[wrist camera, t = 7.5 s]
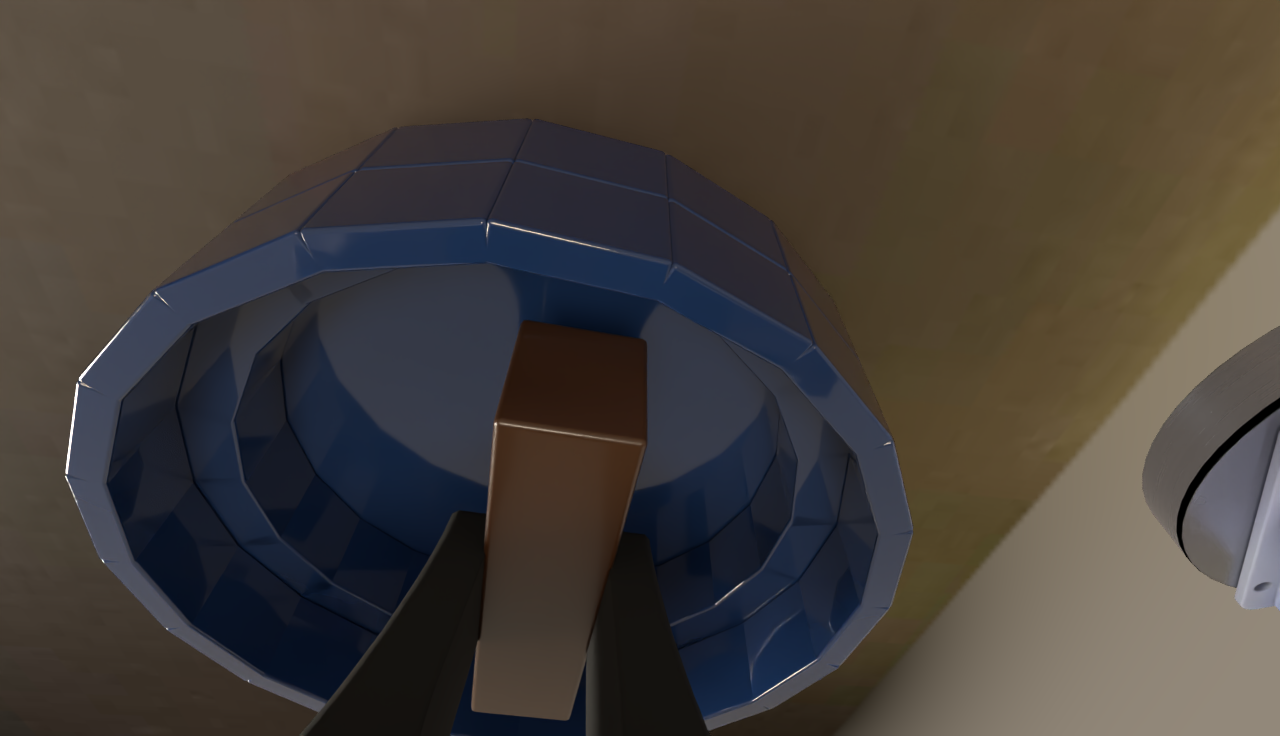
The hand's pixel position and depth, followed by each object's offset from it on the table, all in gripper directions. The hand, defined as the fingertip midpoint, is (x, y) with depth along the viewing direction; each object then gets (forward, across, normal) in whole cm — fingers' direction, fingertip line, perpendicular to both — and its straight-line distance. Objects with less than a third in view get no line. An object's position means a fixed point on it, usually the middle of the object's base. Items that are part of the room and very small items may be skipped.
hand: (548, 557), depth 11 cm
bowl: (+4, +1, +1) cm, 5 cm away
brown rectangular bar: (+1, 0, 0) cm, 1 cm away
